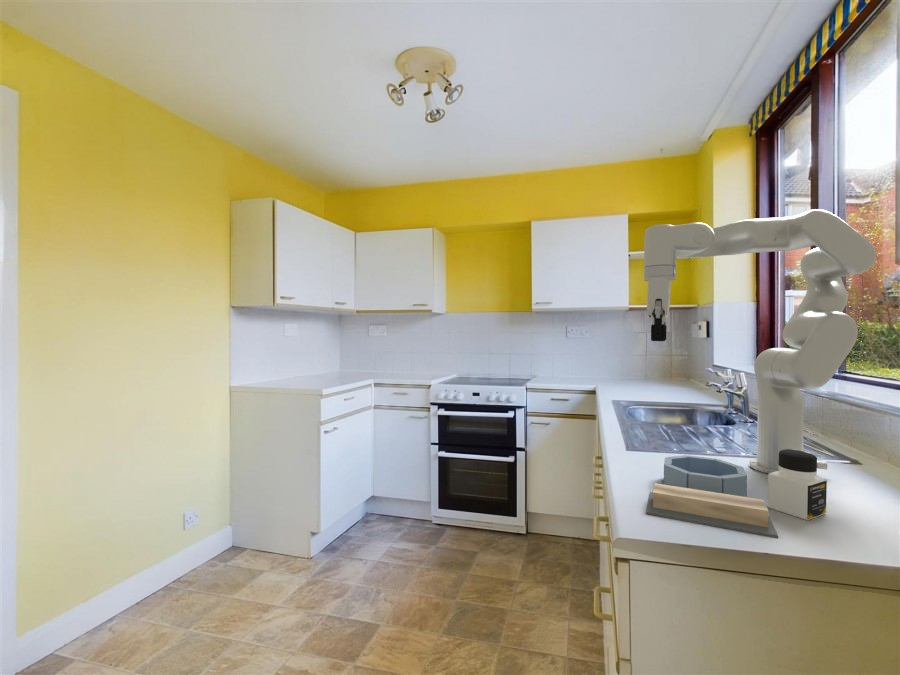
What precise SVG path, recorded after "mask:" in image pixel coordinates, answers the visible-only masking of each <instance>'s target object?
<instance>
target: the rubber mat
mask: <svg viewBox="0 0 900 675" xmlns="http://www.w3.org/2000/svg"><path fill="white" fill-rule="evenodd" d="M647 500H648V502H647V507H646V515H649V516H651V515H652V516H657V517H662V518H668V519H673V520H679V521H683V522H684V521H685V522H689V523H690V522H691V523H694V524H695V523H696V524H700V525H705V526H711V527H712V526H713V527H716V528H717V527H718V528H721V529H728V530H732V529H733V531H738V530H740V531H739V532H743V531H745V532H744V533H749V532H750V534H755V535H760V536H765V535H766V537H771V538H776V539H777V538H779V534H778V533H777V530H776V528H775V526H774V524H773V522H772V519H771V517H770V516H769V518H768V527H763V526H758V525H752V524H746V523H740V522H735V521H729V520H723V519H717V518H712V517H706V516H700V515H695V514H689V513H683V512H677V511H672V510H666V509H660V508H655V507H653V491H650V492H649V495H648V499H647Z"/></svg>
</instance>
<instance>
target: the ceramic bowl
mask: <svg viewBox="0 0 900 675" xmlns="http://www.w3.org/2000/svg"><path fill="white" fill-rule="evenodd" d="M663 485H670V486H676V487H683V488H689V489H696V490H703V491H709V492H716V493H722V494H729V495H735V496H742V497H747V495H748V492H747V491H748V490H747V488H748V486H747V485H748V475H747V472H746V470H745V468H744V467H743V466H741V465H737V464H734V463H732V462H728V461H725V460H722V459H717V458H712V457H704V456H696V455H686V454H685V455H675V456H674V455H673V456H666V457H664V463H663Z"/></svg>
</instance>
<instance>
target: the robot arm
mask: <svg viewBox="0 0 900 675" xmlns="http://www.w3.org/2000/svg"><path fill="white" fill-rule="evenodd" d="M813 246H815V248H813V249H811V250H809V251H807V252H805V254H804V255H803V256H802V257H801V260H800V270H801V273H802V275H803V278H804V280H805V282H806V283H805V285H806V294H805V295H804V297H803V299H802V300H801V302H800V304H799V305H798V306H797V308H796V309H795V310H794V312H793V313H792V315H791V317H790V318H789V320H788V321H787V322H786V324H785V325H784V328H783V330H782V339H783V341H784V342H785V343H786V344H787V345H788V346H789V347H773V348H768V349H766V350H765V349H764V350H763V351H762V352H760V353H759V354H758V356H757V357H756V358H755V360H754V367H753V368H754V369H753V370H754V376H755V380H756V385H757V386H756V387H757V427H756V428H757V429H756V430H757V431H756V434H757V435H756V458H753V459H751V460H749V466H750V468H752V469H753V470H756V471H759V472H761V473H764V474H767V475H768V474H769V473H772V472H776V471H780V470H779V469H778V463H779V452H780V451H781V450H785V449H796V450H802V451H804V424H805V423H804V421H805V420H804V418H805V417H804V416H805V403H804V396H803V393H802V391H801V389H802V390H817V389H820V388H822V387H823V386H825V385H826V384H827V383H828V382H829V381H831V379H832V378H833V376H835V374H836V372H838V369H839V368H840V366H842V364H843V362H844V361H845V359H846V358H847V357H848V355H849V353H851V351H852V349H853V348H854V346H855V344H856V343H857V339H858V335H859V334H858V333H859V331H858V330H859V329H858V326H857V323H856V321H855V319H853V317H852V316H850V315H849V314H847V313H844V312H843V311H844V310H845V308H846V306H847V303H848V300H849V297H848V292H847V288H846V287H845V285H844V284H845V283H844V282H843V280H842V278H843V277H849V276H856V275H860V274H863V273H866V272H868V271H869V270H870V269H872V267H874V265H875V263H876V260H877V251H876V248H875V246H874V245H873V244H872V242H870V241H869V240H868V239H867V238H866V237H865V236H863V235H862V234H861V233H860V232H859V231H857V229H855V228H853V227H852V226H851V225H850V224H848V223H847V222H845V220H843V219H841V217H839V216H837V215H836V214H833V213H832V212H830V211H828V210H825V209H819V208H817V209H816V208H815V209H810V210H808V211H805V212H802V213H800V214H796V215H792V216H783V217H767V218H766V217H765V218H750V219H743V220H738V221H735V222H731V223H728V224H725V225H722V226H717V227H711V226H709V225H708V224H706V223H703V222H691V223H690V222H689V223H685V224H677V225H673V224H665V223H663V224H654V225H651V226H649V227H648V228H646V230H645V232H644V255H643V256H644V260H643V266H644V267H643V281H645V282H647V288H646V289H647V292H646V294H647V295H646V317H647V318H648V319H651V326H650V341H651V342H665V341H667V330H668V329H667V326H668V325H666V323H667V320H666V319H668V317H669V313H670V307H671V306H670V305H671V294H672V293H671V291H672V290H671V287H672V286H671V285H672V283H671V282H672V281H675V280H677V259H678V260H679V259H681V260H682V259H696V258H697V259H699V258H708V257H709V258H711V257H720V256H736V255H740V254H741V255H742V254H743V255H744V254H754V253H755V254H756V253H772V252H789V251H797V250H800V249H804V248H805V249H806V248H808V247H809V248H810V247H813ZM790 347H792V348H790ZM818 469H819V470H824V471H825V470H828V462H827V461H823V460H818V459H817V470H818Z"/></svg>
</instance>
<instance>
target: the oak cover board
mask: <svg viewBox="0 0 900 675" xmlns="http://www.w3.org/2000/svg"><path fill="white" fill-rule="evenodd" d="M653 486H654V487H653V491H652V492H653V507H655V508H660V509H666V510H672V511H677V512H683V513H689V514H695V515H700V516H706V517H712V518H717V519H723V520H729V521H735V522H740V523H746V524H752V525H758V526H763V527H768V518H769V517H770V515H769V514H770V513H769V509H768V506H767V505H766V503H765V501H764V499H761V498H754V497H749V496H748V497H742V496H735V495H729V494H722V493H716V492H709V491H703V490H696V489H689V488H683V487H676V486H670V485H664V483H663V484H662V483H656V482H654V485H653Z"/></svg>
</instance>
